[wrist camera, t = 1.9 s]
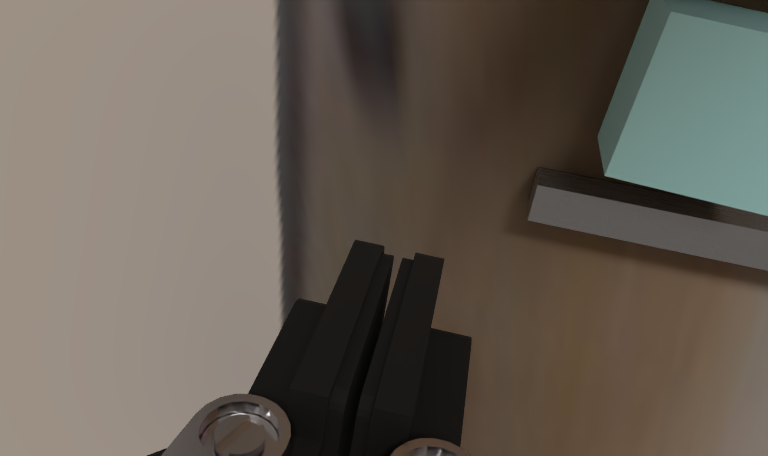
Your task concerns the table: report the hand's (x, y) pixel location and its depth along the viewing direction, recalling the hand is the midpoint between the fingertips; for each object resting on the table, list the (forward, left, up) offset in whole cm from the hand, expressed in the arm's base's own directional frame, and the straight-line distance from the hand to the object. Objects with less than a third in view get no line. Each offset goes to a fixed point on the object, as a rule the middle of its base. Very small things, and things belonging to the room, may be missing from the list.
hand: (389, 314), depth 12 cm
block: (+1, +10, -22) cm, 24 cm away
